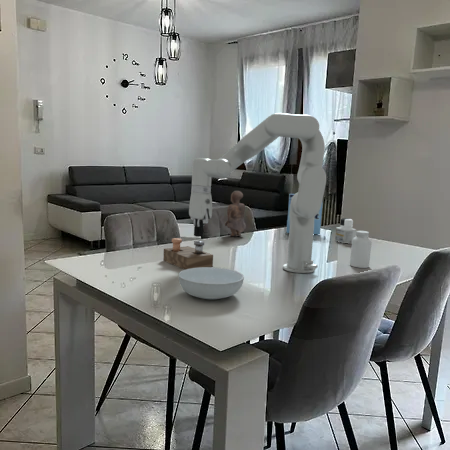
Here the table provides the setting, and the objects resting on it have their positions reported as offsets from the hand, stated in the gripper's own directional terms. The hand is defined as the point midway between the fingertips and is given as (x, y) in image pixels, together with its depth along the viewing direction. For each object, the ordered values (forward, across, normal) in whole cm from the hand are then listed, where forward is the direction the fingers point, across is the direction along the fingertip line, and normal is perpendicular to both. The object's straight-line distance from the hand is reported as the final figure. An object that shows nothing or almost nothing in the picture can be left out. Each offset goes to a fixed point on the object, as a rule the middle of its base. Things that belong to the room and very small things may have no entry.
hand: (198, 236), depth 184 cm
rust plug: (+8, +8, +5) cm, 12 cm away
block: (+12, +4, +2) cm, 13 cm away
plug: (+8, 0, -1) cm, 8 cm away
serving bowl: (+12, -34, +18) cm, 41 cm away
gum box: (+11, +36, -100) cm, 107 cm away
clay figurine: (+12, +45, -56) cm, 72 cm away
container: (+11, +7, -102) cm, 103 cm away
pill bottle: (+11, -32, -62) cm, 71 cm away
